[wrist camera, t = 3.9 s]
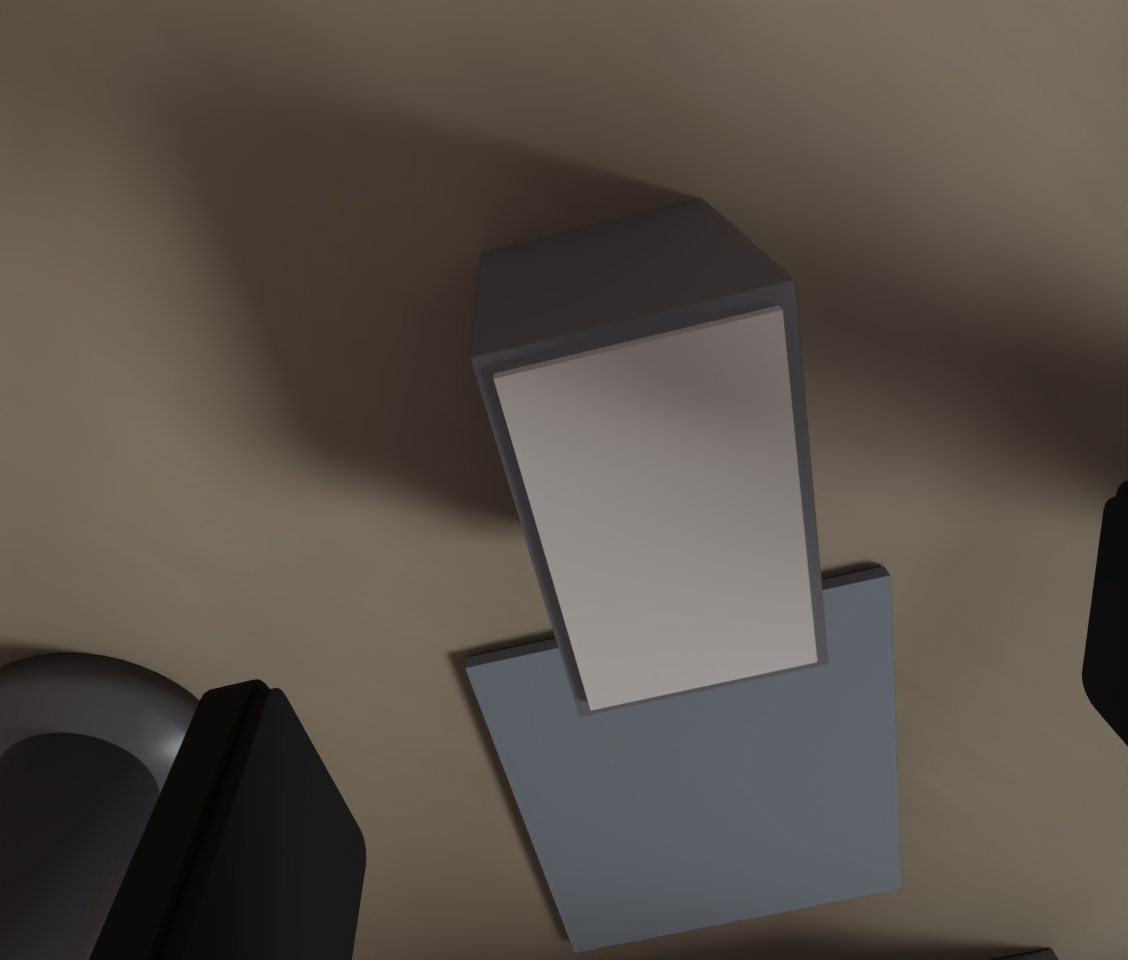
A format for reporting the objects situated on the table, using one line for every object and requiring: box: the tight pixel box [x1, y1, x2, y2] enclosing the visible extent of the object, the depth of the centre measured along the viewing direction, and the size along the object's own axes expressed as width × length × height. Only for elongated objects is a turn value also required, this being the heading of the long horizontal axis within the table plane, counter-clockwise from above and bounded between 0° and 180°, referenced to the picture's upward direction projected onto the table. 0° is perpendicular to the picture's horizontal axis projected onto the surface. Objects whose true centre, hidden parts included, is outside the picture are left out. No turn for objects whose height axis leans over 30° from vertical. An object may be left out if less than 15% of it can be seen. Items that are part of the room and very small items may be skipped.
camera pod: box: [470, 199, 829, 717], centre depth 16 cm, size 4×8×6 cm, turn 13°
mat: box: [465, 566, 902, 953], centre depth 24 cm, size 11×13×1 cm
